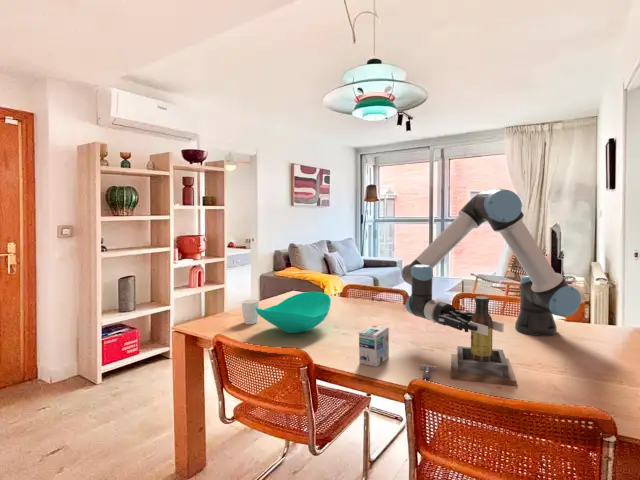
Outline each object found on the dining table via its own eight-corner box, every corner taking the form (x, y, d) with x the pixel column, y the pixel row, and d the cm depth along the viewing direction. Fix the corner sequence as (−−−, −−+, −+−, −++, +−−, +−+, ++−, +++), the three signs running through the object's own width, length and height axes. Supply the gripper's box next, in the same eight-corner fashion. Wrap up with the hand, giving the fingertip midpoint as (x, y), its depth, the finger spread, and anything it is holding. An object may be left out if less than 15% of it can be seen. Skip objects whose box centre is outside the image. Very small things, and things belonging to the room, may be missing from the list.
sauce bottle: (475, 354, 132) (476, 294, 131) (494, 358, 128) (496, 296, 127) (467, 359, 128) (468, 297, 126) (487, 364, 123) (488, 300, 122)
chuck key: (420, 368, 131) (420, 362, 131) (436, 369, 130) (436, 363, 129) (417, 379, 122) (417, 373, 122) (434, 381, 121) (434, 375, 121)
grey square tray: (508, 363, 134) (508, 348, 133) (516, 385, 117) (516, 368, 116) (451, 357, 139) (451, 343, 139) (450, 378, 122) (450, 362, 122)
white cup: (239, 324, 187) (238, 302, 186) (248, 319, 194) (247, 299, 193) (253, 325, 184) (253, 303, 183) (262, 321, 191) (261, 300, 191)
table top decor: (295, 316, 199) (295, 289, 198) (345, 323, 184) (345, 294, 183) (239, 338, 165) (238, 306, 164) (294, 350, 151) (293, 315, 150)
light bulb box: (377, 367, 132) (376, 335, 132) (358, 363, 136) (358, 332, 135) (389, 357, 142) (389, 326, 141) (371, 353, 145) (371, 324, 144)
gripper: (460, 319, 148) (516, 336, 127) (419, 327, 139) (472, 346, 118) (460, 299, 147) (516, 313, 126) (419, 305, 139) (472, 321, 118)
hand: (494, 329), depth 122 cm, fingers closed on sauce bottle, 6 cm apart
